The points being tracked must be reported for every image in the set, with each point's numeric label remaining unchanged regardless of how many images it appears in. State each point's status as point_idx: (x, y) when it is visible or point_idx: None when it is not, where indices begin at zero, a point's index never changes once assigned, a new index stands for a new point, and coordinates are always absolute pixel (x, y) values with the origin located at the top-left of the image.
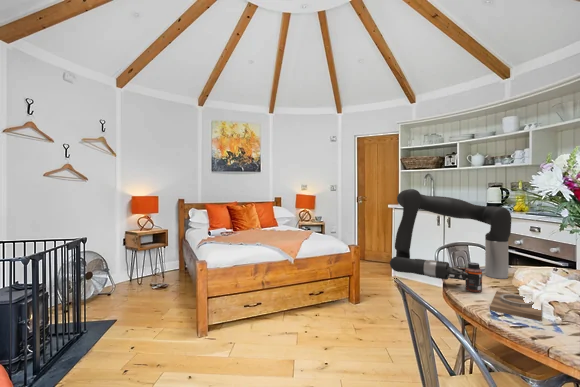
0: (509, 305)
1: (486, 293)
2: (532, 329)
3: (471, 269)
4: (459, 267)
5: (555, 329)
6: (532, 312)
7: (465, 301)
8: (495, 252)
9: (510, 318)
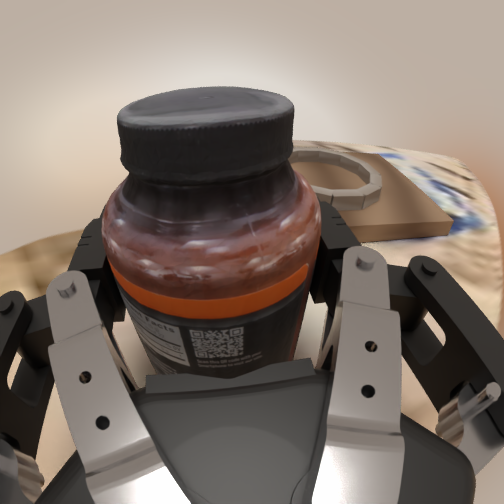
0: (384, 189)
1: None
2: (438, 176)
3: (301, 183)
4: (86, 436)
5: (393, 157)
6: (374, 161)
7: None
8: None
9: (437, 199)
